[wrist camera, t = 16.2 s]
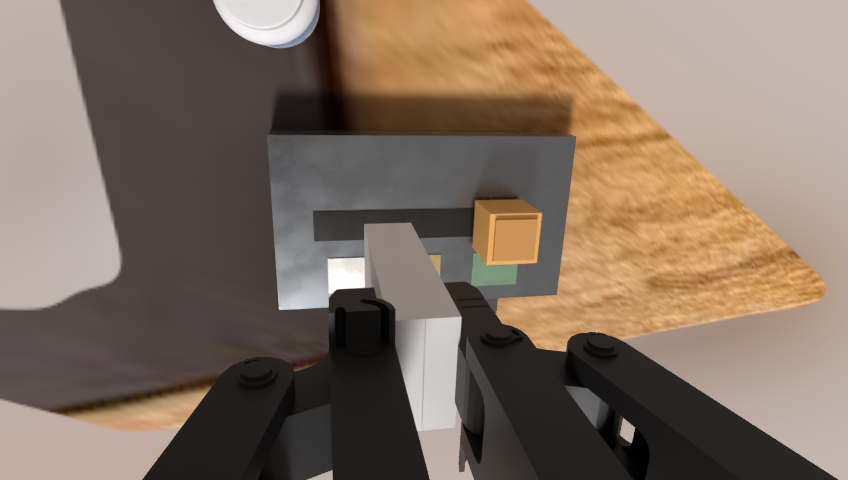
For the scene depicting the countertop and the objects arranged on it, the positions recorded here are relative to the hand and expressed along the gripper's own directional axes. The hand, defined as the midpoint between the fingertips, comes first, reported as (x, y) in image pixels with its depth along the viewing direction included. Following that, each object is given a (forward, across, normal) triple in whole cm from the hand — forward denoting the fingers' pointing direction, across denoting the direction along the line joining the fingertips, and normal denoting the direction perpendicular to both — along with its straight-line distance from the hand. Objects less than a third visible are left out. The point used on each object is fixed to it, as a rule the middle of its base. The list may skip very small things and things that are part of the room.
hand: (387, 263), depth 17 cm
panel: (+26, +6, -6) cm, 28 cm away
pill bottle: (+27, -5, +10) cm, 29 cm away
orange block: (+23, +12, -6) cm, 26 cm away
